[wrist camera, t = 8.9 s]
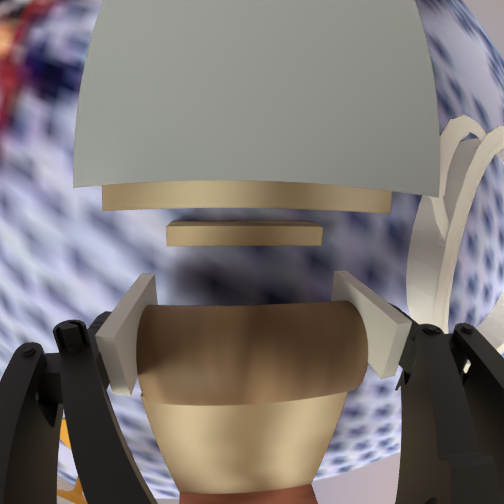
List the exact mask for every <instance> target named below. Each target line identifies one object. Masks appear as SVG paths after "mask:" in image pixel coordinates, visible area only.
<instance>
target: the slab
mask: <svg viewBox="0 0 504 504" xmlns="http://www.w3.org/2000/svg"><path fill="white" fill-rule="evenodd" d="M172 181H265V182H289V183H307V184H322V185H335V186H346V187H357V188H366V189H376V190H385V191H393V192H401V193H409V194H416V195H423V196H430V197H436V198H439V187H440V131H439V116H438V105H437V96H436V88H435V81H434V74H433V69H432V63H431V58H430V53H429V48H428V44H427V40H426V36H425V32H424V28H423V25H422V21H421V18H420V14H419V11H418V8H417V5H416V2H415V0H103V2H102V5H101V8H100V11H99V14H98V17H97V20H96V23H95V27H94V30H93V33H92V37H91V41H90V45H89V48H88V53H87V57H86V61H85V66H84V71H83V76H82V82H81V88H80V94H79V101H78V109H77V117H76V128H75V141H74V166H73V188H78V187H89V186H101V185H115V184H131V183H148V182H172Z"/></svg>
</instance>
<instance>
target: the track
mask: <svg viewBox="0 0 504 504" xmlns="http://www.w3.org/2000/svg"><path fill="white" fill-rule="evenodd" d="M391 202H392V191H385V190H376V189H366V188H357V187H346V186H335V185H322V184H307V183H289V182H265V181H172V182H148V183H131V184H115V185H102V206H103V211H115V210H137V209H167V208H282V209H313V210H336V211H354V212H370V213H385V214H391ZM322 233H323V227H322V226H320V225H318V224H316V223H313V222H302V221H172V222H171V223H170V224H168V225H167V226H166V236H167V246H316V245H322ZM347 393H348V392H344V393H339V394H334V395H328V396H322V397H316V398H309V399H302V400H294V401H286V402H276V403H265V404H251V405H228V406H191V405H168V404H154V403H149V402H147V401H146V399H145V398H144V396H143V394H141V399H142V402H143V405H144V408H145V411H146V414H147V417H148V420H149V422H150V425H151V428H152V431H153V433H154V436H155V438H156V441H157V444H158V446H159V448H160V451H161V453H162V456H163V458H164V460H165V463H166V465H167V467H168V469H169V471H170V474H171V476H172V478H173V480H174V482H175V484H176V486H177V488H178V490H179V492H180V501H179V504H318V503H317V500H316V497H315V494H314V491H313V488H312V485H311V483H312V481H313V479H314V477H315V475H316V473H317V471H318V468H319V466H320V464H321V462H322V459H323V457H324V455H325V452H326V450H327V448H328V445H329V443H330V440H331V438H332V435H333V433H334V430H335V428H336V425H337V422H338V420H339V417H340V414H341V411H342V408H343V405H344V402H345V399H346V396H347Z"/></svg>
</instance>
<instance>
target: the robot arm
mask: <svg viewBox="0 0 504 504" xmlns="http://www.w3.org/2000/svg"><path fill="white" fill-rule="evenodd" d="M343 300H345V301H349V302H351V303H352V304H353V305H354V306H355V307H356V308H357V310H358V311H359V313H360V315H361V317H362V319H363V322H364V325H365V329H366V333H367V339H368V363H369V365H370V366H371V367H372V368H373V370H374V371H375V372H376V374H377V375H378V376H379V377H380V379H384V378H387V377H391V376H395V373H396V371H397V368H398V365H400V366H401V367H402V368H403V371H402V373H401V376H400V379H399V381H398V384H397V386H396V389H395V390H398V388H399V387H400V386H401V403H402V434H401V457H400V470H399V480H398V489H397V496H396V502H395V504H504V358H503V357H502V356H501V355H500V354H499V352H498V351H497V350H496V349H495V348H494V347H493V346H492V345H491V344H490V343H489V342H488V340H487V339H486V338H485V337H484V336H483V335H482V334H481V333H480V332H479V331H478V330H477V329H476V328H475V327H473V326H471V325H470V324H467V323H460V324H457V325H455V328H454V331H453V334H444V332H443V331H442V329H440V328H439V327H438V326H435V325H432V324H420V325H419V324H418V323H417V322H416V321H414V320H413V319H412V318H410V317H409V316H408V315H407V314H405V313H404V312H402V310H400V309H399V308H398V307H396V306H394V305H392V304H390V303H388V302H387V301H385V300H384V299H383V298H381V297H380V296H379V295H377V294H376V293H375V292H374V291H372V290H371V289H370V288H368V287H367V286H366V285H364V284H363V283H362V282H360V281H359V280H358V279H356V278H355V277H354V276H352V275H351V274H350V273H348V272H347V271H335V272H334V280H333V288H332V296H331V301H343ZM147 305H158V302H157V292H156V283H155V274H146V273H142V274H141V275H140V276H139V277H138V279H137V280H136V281H135V283H134V284H133V285H132V286H131V288H130V289H129V290H128V291H127V293H126V294H125V295H124V297H123V298H122V299H121V301H120V302H119V303H118V305H117V306H116V307H115V309H114V310H113V311H112V312H107V311H105V312H104V313H102V314H100V315H99V316H98V317H97V318H96V319H95V320H94V322H93V323H92V324H91V325H90V328H88V329H87V328H86V325H85V323H84V322H82V321H80V320H67V321H63V322H61V323H59V324H57V325H56V326H55V327H54V329H53V334H54V337H55V340H56V343H57V346H58V349H59V353H46V354H45V353H44V351H43V348H42V346H41V345H40V344H38V343H35V342H31V343H29V342H28V343H26V344H25V343H24V344H22V345H21V346H20V347H18V348H17V350H16V351H15V353H14V354H13V356H12V358H11V360H10V362H9V364H8V366H7V368H6V370H5V372H4V374H3V376H2V378H1V381H0V504H57V464H58V450H59V440H60V431H61V423H62V416H63V410H64V413H65V419H66V425H67V431H68V436H69V441H70V445H71V450H72V454H73V458H74V462H75V466H76V470H77V473H78V476H79V480H80V483H81V486H82V489H83V492H84V495H85V498H86V501H87V503H88V504H157V502H156V500H155V498H154V496H153V495H152V493H151V491H150V490H149V488H148V486H147V484H146V482H145V480H144V479H143V477H142V475H141V473H140V471H139V469H138V467H137V465H136V463H135V461H134V459H133V456H132V454H131V452H130V450H129V448H128V445H127V443H126V441H125V439H124V436H123V434H122V431H121V429H120V426H119V424H118V421H117V419H116V416H115V413H114V410H113V408H112V405H111V402H110V399H109V396H108V394H107V391H106V390H107V388H108V386H109V383H110V386H111V389H112V391H113V394H119V395H127V396H131V394H132V391H133V388H134V385H135V383H136V380H137V377H138V373H137V364H136V341H137V332H138V326H139V321H140V318H141V315H142V312H143V310H144V308H145V307H146V306H147ZM468 360H469V361H470V363H471V365H470V367H469V369H468V371H467V373H465V372H464V368H465V365H466V363H467V361H468Z"/></svg>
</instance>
